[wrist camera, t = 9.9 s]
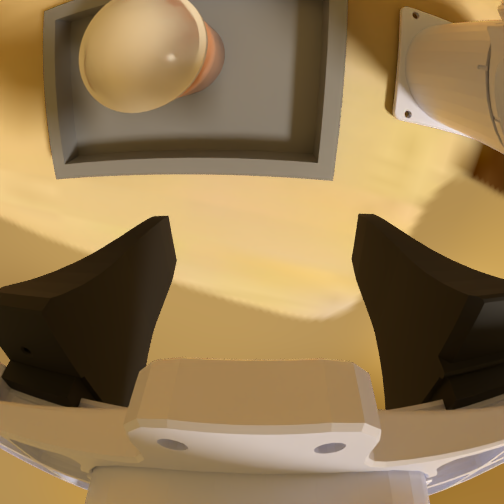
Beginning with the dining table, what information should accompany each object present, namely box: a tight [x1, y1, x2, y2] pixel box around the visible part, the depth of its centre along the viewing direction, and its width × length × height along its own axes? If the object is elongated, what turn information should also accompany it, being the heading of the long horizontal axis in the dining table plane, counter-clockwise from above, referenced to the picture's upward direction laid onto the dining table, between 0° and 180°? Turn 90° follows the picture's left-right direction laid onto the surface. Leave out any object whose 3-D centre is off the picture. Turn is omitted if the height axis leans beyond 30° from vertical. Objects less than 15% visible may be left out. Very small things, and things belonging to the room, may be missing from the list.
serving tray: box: [43, 0, 348, 181], centre depth 15 cm, size 18×12×2 cm, turn 88°
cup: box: [79, 0, 225, 113], centre depth 12 cm, size 5×5×7 cm
